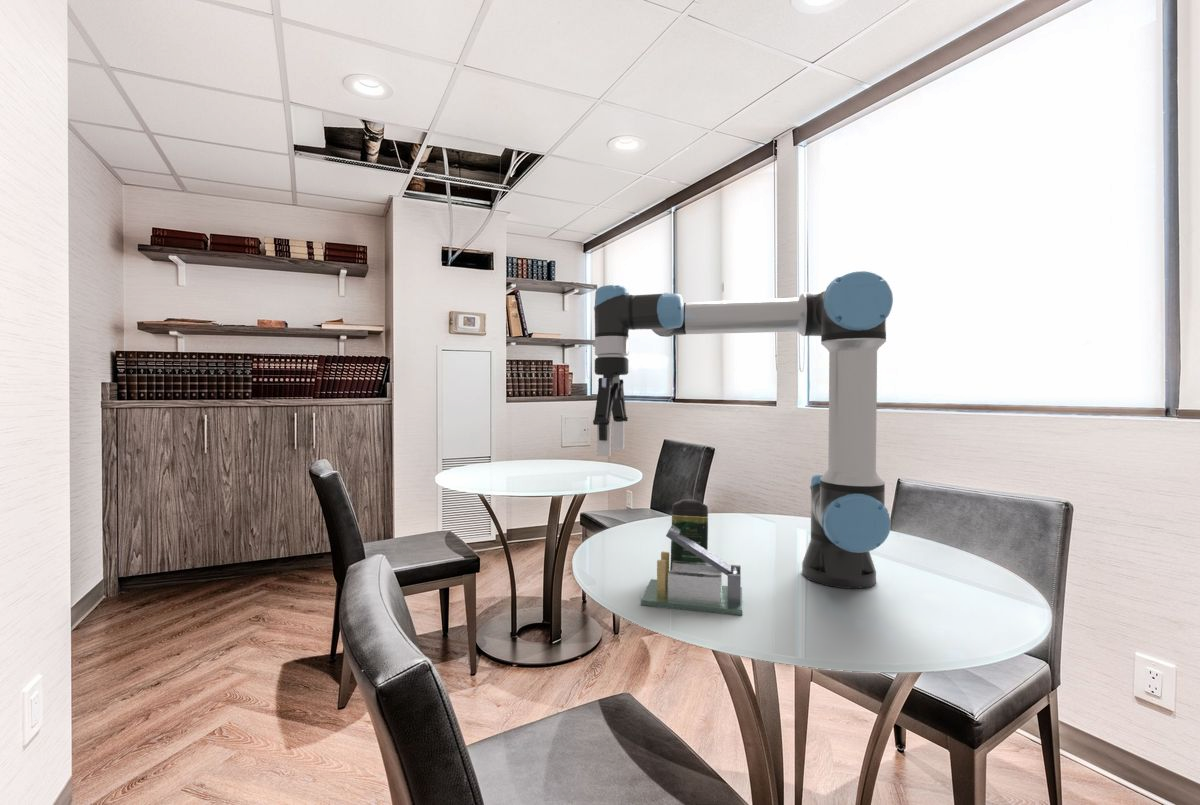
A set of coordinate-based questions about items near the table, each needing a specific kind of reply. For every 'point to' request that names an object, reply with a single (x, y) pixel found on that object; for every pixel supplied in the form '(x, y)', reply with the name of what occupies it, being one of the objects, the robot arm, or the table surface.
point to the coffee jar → (689, 528)
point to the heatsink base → (694, 587)
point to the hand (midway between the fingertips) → (611, 452)
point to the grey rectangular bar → (698, 550)
